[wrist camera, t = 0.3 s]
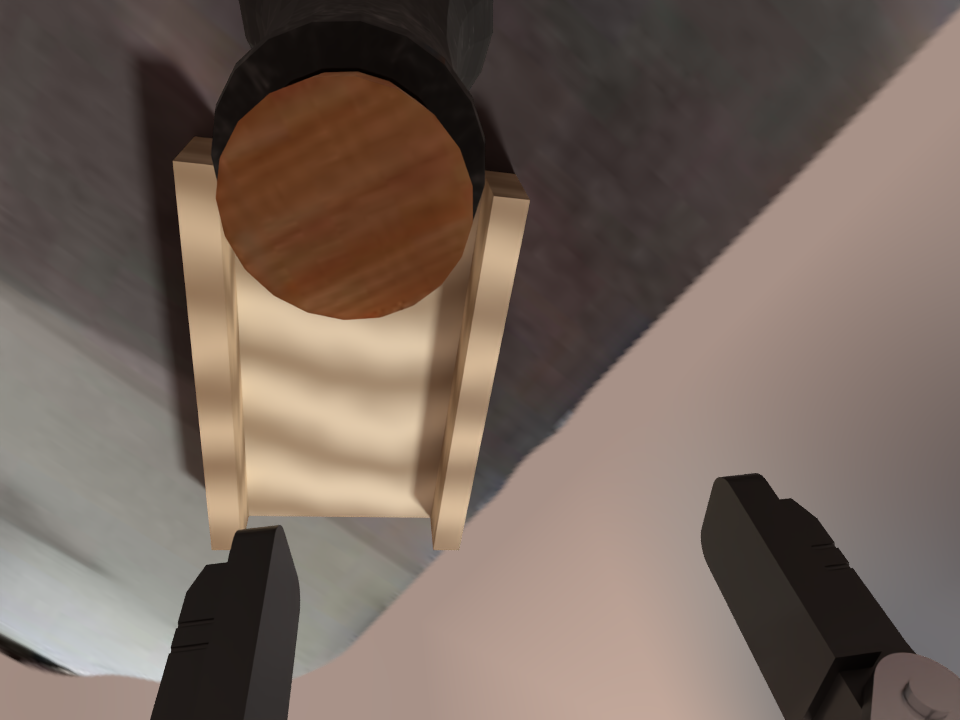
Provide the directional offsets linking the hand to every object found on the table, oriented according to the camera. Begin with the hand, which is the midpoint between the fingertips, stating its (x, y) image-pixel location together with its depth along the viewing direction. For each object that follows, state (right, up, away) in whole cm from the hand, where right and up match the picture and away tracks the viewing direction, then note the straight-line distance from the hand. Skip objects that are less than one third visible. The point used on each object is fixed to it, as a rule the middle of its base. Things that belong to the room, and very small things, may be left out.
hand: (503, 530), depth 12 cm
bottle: (-6, +22, +21) cm, 30 cm away
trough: (-9, +3, +32) cm, 34 cm away
